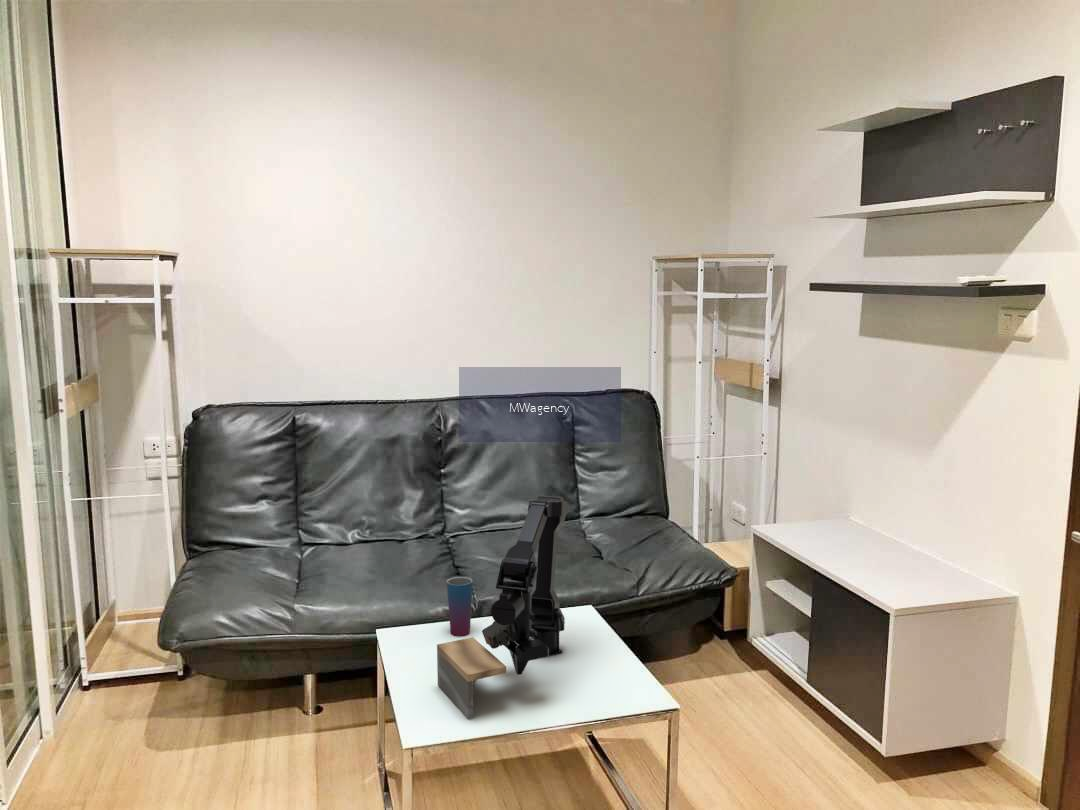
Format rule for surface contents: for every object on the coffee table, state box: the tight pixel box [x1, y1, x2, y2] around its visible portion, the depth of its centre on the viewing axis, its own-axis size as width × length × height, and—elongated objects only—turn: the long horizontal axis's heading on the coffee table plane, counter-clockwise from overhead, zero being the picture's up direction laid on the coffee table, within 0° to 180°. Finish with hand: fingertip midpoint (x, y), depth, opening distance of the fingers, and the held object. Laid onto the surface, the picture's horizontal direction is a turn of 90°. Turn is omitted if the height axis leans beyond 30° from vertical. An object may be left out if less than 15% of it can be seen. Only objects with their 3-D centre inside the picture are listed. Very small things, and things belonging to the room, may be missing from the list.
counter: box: [436, 636, 507, 721], centre depth 191 cm, size 9×18×10 cm, turn 28°
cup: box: [446, 576, 474, 638], centre depth 226 cm, size 7×7×15 cm
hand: (519, 674), depth 197 cm, fingers closed
